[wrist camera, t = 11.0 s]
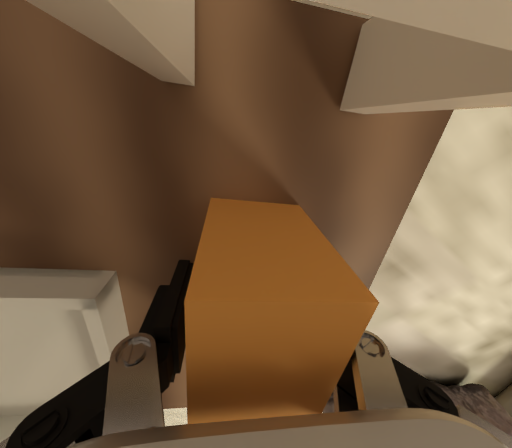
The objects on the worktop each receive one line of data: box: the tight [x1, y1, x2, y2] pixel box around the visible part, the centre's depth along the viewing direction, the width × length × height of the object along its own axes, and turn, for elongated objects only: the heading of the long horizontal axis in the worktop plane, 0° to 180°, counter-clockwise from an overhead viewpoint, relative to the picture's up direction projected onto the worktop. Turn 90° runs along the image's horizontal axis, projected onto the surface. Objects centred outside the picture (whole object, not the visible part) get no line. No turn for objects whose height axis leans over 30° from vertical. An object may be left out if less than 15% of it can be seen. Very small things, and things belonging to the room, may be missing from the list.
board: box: [0, 0, 454, 409], centre depth 13 cm, size 27×27×1 cm
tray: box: [0, 267, 129, 442], centre depth 12 cm, size 11×14×2 cm
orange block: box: [184, 198, 379, 424], centre depth 9 cm, size 4×9×6 cm, turn 173°
